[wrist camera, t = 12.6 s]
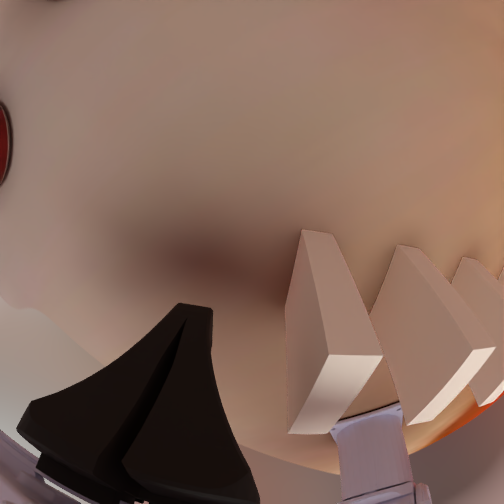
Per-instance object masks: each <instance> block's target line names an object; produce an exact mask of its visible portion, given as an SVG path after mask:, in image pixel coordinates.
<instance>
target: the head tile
mask: <svg viewBox="0 0 504 504" xmlns="http://www.w3.org/2000/svg"><path fill="white" fill-rule="evenodd" d="M285 329H286V359H287V411H288V434H327V433H328V432H329V431H330V430H331V428H332V427H333V426H334V425H335V424H336V422H337V421H338V420H339V419H340V417H341V416H342V415H343V414H344V412H345V411H346V410H347V408H348V407H349V406H350V404H351V403H352V402H353V400H354V399H355V398H356V396H357V395H358V393H359V392H360V391H361V389H362V388H363V386H364V385H365V383H366V382H367V381H368V379H369V378H370V376H371V375H372V373H373V371H374V370H375V368H376V367H377V365H378V364H379V362H380V361H381V359H382V357H383V356H384V355H383V352H382V350H381V347H380V344H379V341H378V339H377V336H376V333H375V331H374V328H373V326H372V323H371V320H370V318H369V315H368V313H367V310H366V308H365V306H364V303H363V301H362V298H361V296H360V293H359V291H358V289H357V286H356V284H355V282H354V280H353V277H352V275H351V273H350V270H349V268H348V266H347V264H346V262H345V259H344V257H343V255H342V253H341V251H340V249H339V247H338V244H337V242H336V240H335V238H334V236H333V234H331V233H325V232H318V231H311V230H304V229H302V230H301V235H300V240H299V245H298V250H297V255H296V259H295V264H294V269H293V273H292V278H291V282H290V287H289V291H288V296H287V300H286V304H285Z"/></svg>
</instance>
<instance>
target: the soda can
mask: <svg viewBox="0 0 504 504" xmlns="http://www.w3.org/2000/svg"><path fill="white" fill-rule="evenodd" d="M10 145H11V141H10V127H9V122H8V119H7V116H6V113H5V111H4V110H3V108H2V107H1V106H0V184H1V182H2V180H3V178H4V176H5V173H6V170H7V167H8V162H9V157H10Z"/></svg>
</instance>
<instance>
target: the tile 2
mask: <svg viewBox="0 0 504 504" xmlns="http://www.w3.org/2000/svg"><path fill="white" fill-rule="evenodd" d="M369 316H370V319H371V321H372V324H373V326H374V329H375V331H376V334H377V337H378V339H379V342H380V345H381V347H382V350H383V353H384V356H385V359H386V361H387V364H388V367H389V370H390V373H391V376H392V379H393V382H394V385H395V388H396V392H397V395H398V398H399V401H400V405H401V408H402V411H403V415H404V418H405V422H406V426H407V425H412V424H417V423H422V422H427V421H431V420H433V419H434V418H435V417H436V416H437V415H438V414H439V413H440V412H441V411H442V410H443V409H444V408H445V407H446V406H447V405H448V404H449V403H450V402H451V401H452V400H453V399H454V398H455V397H456V396H457V395H458V394H459V393H460V391H461V390H462V389H463V388H464V387H465V386H466V385H467V384H468V382H469V381H470V380H471V379H472V378H473V377H474V375H475V374H476V373H477V372H478V370H479V369H480V368H481V367H482V365H483V364H484V363H485V362H486V360H487V359H488V358H489V356H490V355H491V354H492V352H493V351H494V349H495V348H496V345H495V344H494V342H493V341H492V339H491V338H490V336H489V335H488V333H487V332H486V330H485V329H484V327H483V326H482V324H481V323H480V322H479V320H478V319H477V317H476V316H475V315H474V313H473V312H472V311H471V309H470V308H469V307H468V305H467V304H466V303H465V301H464V300H463V299H462V298H461V296H460V295H459V294H458V292H457V291H456V290H455V289H454V288H453V286H452V285H451V284H450V283H449V281H448V280H447V279H446V278H445V277H444V275H443V274H442V273H441V272H440V271H439V270H438V269H437V267H436V266H435V265H434V264H433V263H432V262H431V261H430V259H429V258H428V257H427V256H426V255H425V254H424V253H423V252H422V251H421V250H420V249H419V248H415V247H409V246H404V245H398V244H397V246H396V249H395V252H394V255H393V258H392V261H391V263H390V266H389V269H388V271H387V274H386V277H385V279H384V282H383V284H382V287H381V289H380V292H379V294H378V296H377V299H376V301H375V303H374V306H373V308H372V310H371V312H370V315H369Z"/></svg>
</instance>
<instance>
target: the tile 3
mask: <svg viewBox="0 0 504 504" xmlns="http://www.w3.org/2000/svg"><path fill="white" fill-rule="evenodd" d="M451 285H452V286H453V288H454V289H455V290H456V291H457V292H458V294H459V295H460V296H461V298H462V299H463V300H464V301H465V303H466V304H467V305H468V307H469V308H470V309H471V311H472V312H473V313H474V315H475V316H476V317H477V319H478V320H479V322H480V323H481V324H482V326H483V327H484V329H485V330H486V332H487V333H488V335H489V336H490V338H491V339H492V341H493V342H494V344H495V345H496V348H495V349H494V351H493V352H492V354H491V355H490V356H489V358H488V359H487V360H486V362H485V363H484V364H483V365H482V367H481V368H480V369H479V370H478V372H477V373H476V374H475V375H474V377H473V378H472V379H471V380H470V381H469V382H468V384H469V386H470V388H471V390H472V392H473V394H474V397H475V399H476V401H477V404H478V406H479V407H480V406H482V405H485V404H488V403H491V402H493V401H494V400H495V399H496V398H497V397H498V396H499V395H500V394H501V393H502V392H503V391H504V287H503V285H502V284H501V283H500V282H499V281H498V280H497V279H496V278H495V277H494V276H493V275H492V274H491V273H490V272H489V271H488V270H487V269H486V268H485V267H484V266H483V265H482V264H481V263H480V262H479V261H478V260H476V259H472V258H467V257H462V259H461V262H460V264H459V266H458V269H457V271H456V273H455V276H454V278H453V280H452V282H451Z"/></svg>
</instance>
